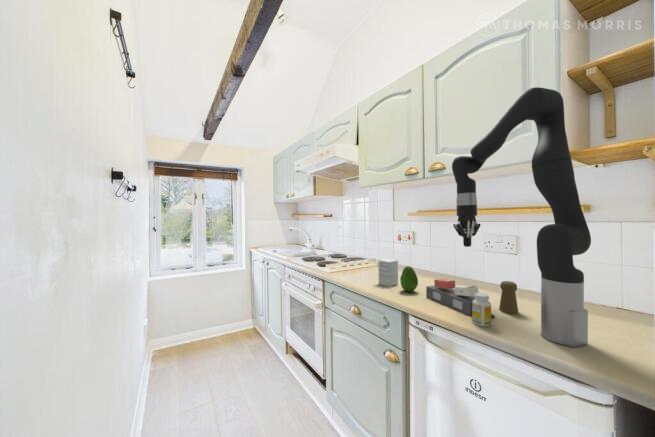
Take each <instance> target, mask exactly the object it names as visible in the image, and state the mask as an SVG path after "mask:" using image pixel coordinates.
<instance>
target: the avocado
mask: <svg viewBox="0 0 655 437" xmlns="http://www.w3.org/2000/svg"><path fill="white" fill-rule="evenodd" d="M399 279H400V287H401V288H402V290H404V292H413V291H415V290H416V289H417V287H418V284H419V280H418V276H417V274H416V271H415V270H414V268H413V267H411V266H410V265H407V266H405V267H404V268H403V269H402V272H401V276H400V278H399Z"/></svg>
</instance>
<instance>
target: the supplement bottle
mask: <svg viewBox="0 0 655 437" xmlns="http://www.w3.org/2000/svg"><path fill="white" fill-rule="evenodd" d="M489 300H490V295H489V294H487V293H483V292H478V293H475V300H473V303H472V315H471V316H472V317H471V318H472V323H473V324H475V325H477V326H480V327H490V326H491V325H492V318H491V314H492V304H491V301H489Z"/></svg>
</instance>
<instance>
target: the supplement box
mask: <svg viewBox="0 0 655 437" xmlns="http://www.w3.org/2000/svg"><path fill="white" fill-rule="evenodd" d="M398 262H399V260H397V259H392V258H391V259H390V258H383V259H379V260H378V262H377V263H378V266H377V267H378V285H381V286H384V287H385V286H386V287H393V286H396V285H398V284H399V263H398Z"/></svg>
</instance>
